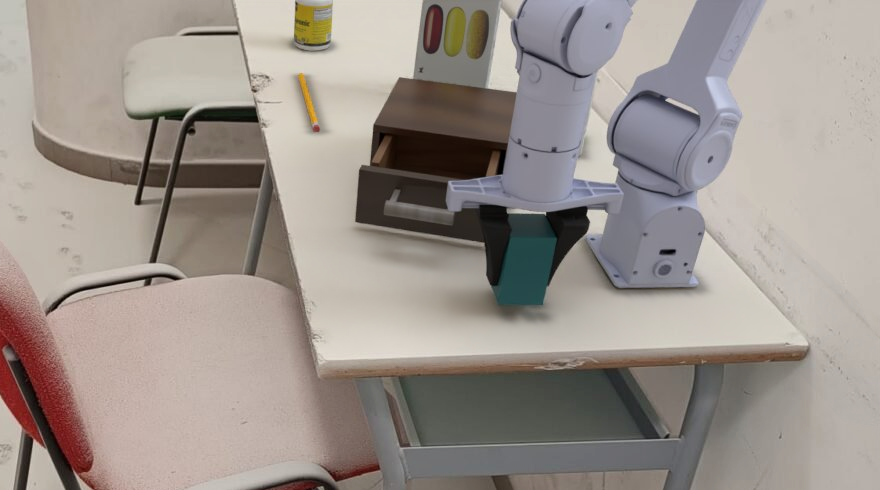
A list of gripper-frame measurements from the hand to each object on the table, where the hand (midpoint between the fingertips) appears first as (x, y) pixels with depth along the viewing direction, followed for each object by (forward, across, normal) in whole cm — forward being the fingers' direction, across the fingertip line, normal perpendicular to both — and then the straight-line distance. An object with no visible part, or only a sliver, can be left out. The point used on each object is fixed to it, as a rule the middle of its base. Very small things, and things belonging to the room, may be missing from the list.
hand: (517, 280), depth 90 cm
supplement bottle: (+2, +15, -69) cm, 70 cm away
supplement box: (+2, -2, -48) cm, 49 cm away
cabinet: (+2, +2, -27) cm, 27 cm away
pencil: (+3, +16, -47) cm, 50 cm away
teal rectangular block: (+1, 0, 0) cm, 1 cm away
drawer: (+1, +6, -15) cm, 17 cm away
